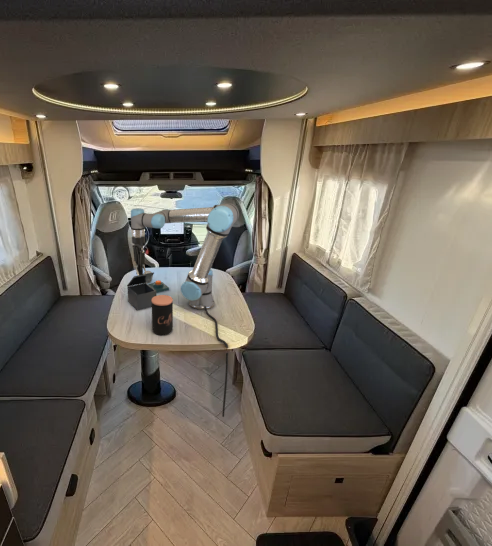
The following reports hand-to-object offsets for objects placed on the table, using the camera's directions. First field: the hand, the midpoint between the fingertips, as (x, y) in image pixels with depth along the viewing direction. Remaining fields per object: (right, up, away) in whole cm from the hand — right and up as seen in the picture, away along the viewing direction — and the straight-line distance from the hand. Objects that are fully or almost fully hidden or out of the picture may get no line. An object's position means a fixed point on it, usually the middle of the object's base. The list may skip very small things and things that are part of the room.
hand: (139, 274), depth 185 cm
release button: (+10, -6, +25) cm, 27 cm away
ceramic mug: (0, -5, +38) cm, 38 cm away
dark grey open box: (+1, -18, +5) cm, 19 cm away
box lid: (0, -3, +1) cm, 3 cm away
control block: (+10, -10, +26) cm, 30 cm away
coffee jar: (+14, -29, -24) cm, 41 cm away
